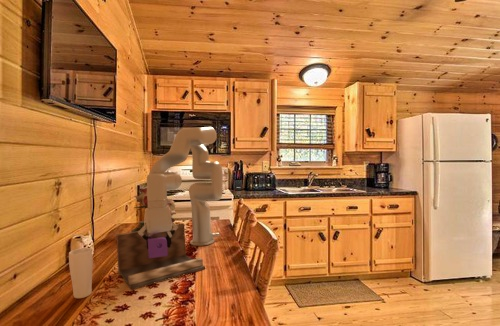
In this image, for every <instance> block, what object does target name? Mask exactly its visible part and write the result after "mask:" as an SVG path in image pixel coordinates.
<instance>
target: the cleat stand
mask: <svg viewBox="0 0 500 326" xmlns="http://www.w3.org/2000/svg"><path fill="white" fill-rule="evenodd" d="M175 224H176V225H177V226H178V228H177V229H176V231H175V233H174V234H173V235H172V237H171V245H170V248H169V247H167V254H168V256H163V257H156V258H149V254H148V249H147V241H146V240H145V239H144V238H143V237H141V236H140V235H139V234H138V232H139V231H135V232H131V231H130V232H125V233H118V234H116V251H117V253H116V255H117V268H118V269H117V272H118V273H119V275H120V276H121V278H122V279H123V280H124V281H125V282H126V284H127V286H128V287H129V288H130V290H135V289H134V288H136V289H138V287H139V288H142V286H143V287H145V285H146V286H149V285H148V284H150V285H152V284H151V283H153V284H155V283H154V282H157V283H159V282H158V281H161V282H163V281H162V280H164V281H166V280H165V279H168V278H171V279H173V278H172V277H175V278H177V277H176V276H178V277H180V276H179V275H182V276H184V275H183V274H185V275H188V273H189V274H192V273H196V272H200V271H202V270H203V271H204V270H205V269H206V266H205V265H204V263H203V261H204V260H203V258H202V257H198V258H192V257H191V256H189V255H187V254H186V250H187V249H186V236H185V235H186V232H185V231H186V230H185V223H183V222H181V223H175ZM172 229H173V226H172ZM172 229H171V230H172ZM171 230H170V231H171ZM143 234H144V235H146V236H147V233H146V232H145V231H144V232H143ZM166 236H167V234H166V233H165V232H163V233H157V234H153V235H152V238H161V237H164V238H166ZM152 238H151V239H152ZM158 244H162V243H158ZM168 280H169V279H168Z"/></svg>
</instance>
